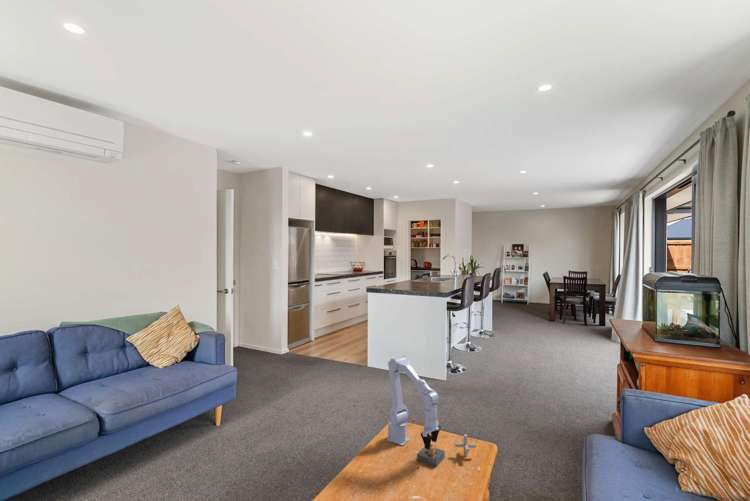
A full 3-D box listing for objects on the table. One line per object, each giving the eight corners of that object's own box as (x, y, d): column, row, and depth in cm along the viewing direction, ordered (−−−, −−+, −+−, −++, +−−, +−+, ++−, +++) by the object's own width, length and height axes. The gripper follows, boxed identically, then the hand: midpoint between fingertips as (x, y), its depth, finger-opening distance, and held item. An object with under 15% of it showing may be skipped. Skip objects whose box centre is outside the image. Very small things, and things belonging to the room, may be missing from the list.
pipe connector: (474, 450, 178) (474, 430, 179) (477, 462, 169) (477, 441, 169) (453, 449, 179) (454, 429, 180) (456, 460, 170) (456, 439, 170)
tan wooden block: (427, 459, 171) (427, 447, 171) (430, 456, 173) (430, 444, 173) (433, 461, 169) (433, 448, 169) (435, 458, 172) (435, 446, 172)
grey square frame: (417, 460, 170) (417, 454, 170) (426, 450, 178) (426, 444, 178) (436, 467, 164) (436, 460, 164) (444, 457, 173) (444, 450, 173)
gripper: (432, 425, 163) (432, 454, 163) (444, 413, 175) (444, 441, 175) (418, 421, 167) (418, 450, 167) (431, 410, 179) (431, 436, 179)
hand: (430, 445), depth 171 cm, fingers open, 7 cm apart
